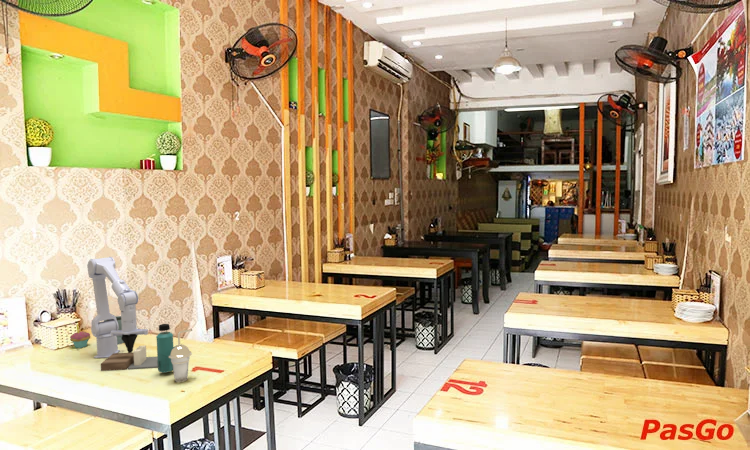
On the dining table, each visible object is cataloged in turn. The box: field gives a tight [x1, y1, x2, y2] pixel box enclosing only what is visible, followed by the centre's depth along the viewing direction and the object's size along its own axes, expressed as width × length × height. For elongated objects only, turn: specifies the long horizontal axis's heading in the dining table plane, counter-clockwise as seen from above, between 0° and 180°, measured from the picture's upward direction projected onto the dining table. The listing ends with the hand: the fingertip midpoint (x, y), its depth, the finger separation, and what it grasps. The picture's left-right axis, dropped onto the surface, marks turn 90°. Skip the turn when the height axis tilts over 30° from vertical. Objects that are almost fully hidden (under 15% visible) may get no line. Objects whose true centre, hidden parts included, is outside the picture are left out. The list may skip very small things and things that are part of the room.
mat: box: [127, 356, 158, 370], centre depth 224 cm, size 14×12×1 cm
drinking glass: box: [103, 315, 125, 346], centre depth 256 cm, size 10×10×12 cm
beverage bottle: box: [155, 323, 174, 373], centre depth 210 cm, size 6×7×20 cm
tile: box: [133, 345, 147, 365], centre depth 223 cm, size 8×6×2 cm
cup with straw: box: [168, 329, 193, 383], centre depth 202 cm, size 8×9×20 cm
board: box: [100, 351, 134, 372], centre depth 222 cm, size 14×10×3 cm
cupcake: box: [69, 323, 91, 349], centre depth 251 cm, size 9×8×12 cm
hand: (130, 351), depth 223 cm, fingers closed
